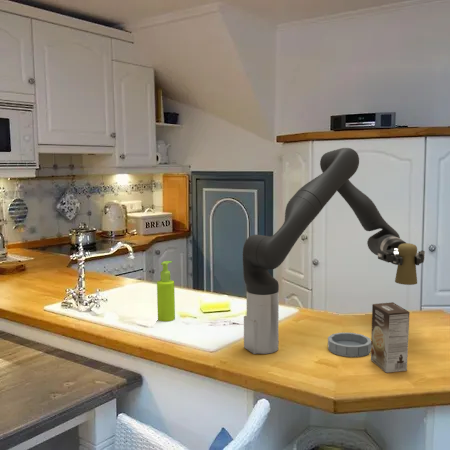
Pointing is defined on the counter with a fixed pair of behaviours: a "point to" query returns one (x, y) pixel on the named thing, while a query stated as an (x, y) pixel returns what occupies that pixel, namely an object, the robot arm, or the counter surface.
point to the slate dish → (349, 344)
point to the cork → (407, 265)
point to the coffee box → (390, 337)
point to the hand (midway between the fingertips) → (409, 261)
